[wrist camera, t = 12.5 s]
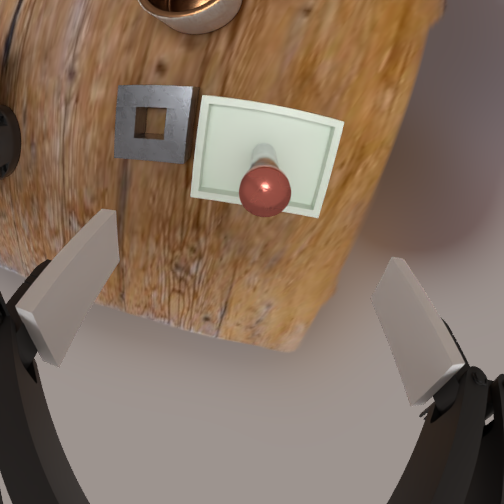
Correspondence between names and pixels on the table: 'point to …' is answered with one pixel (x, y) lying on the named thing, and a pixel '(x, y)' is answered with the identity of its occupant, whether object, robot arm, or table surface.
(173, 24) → the planter
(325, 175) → the tray
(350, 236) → the table surface
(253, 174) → the red capped tube
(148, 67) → the table surface
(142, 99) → the block
